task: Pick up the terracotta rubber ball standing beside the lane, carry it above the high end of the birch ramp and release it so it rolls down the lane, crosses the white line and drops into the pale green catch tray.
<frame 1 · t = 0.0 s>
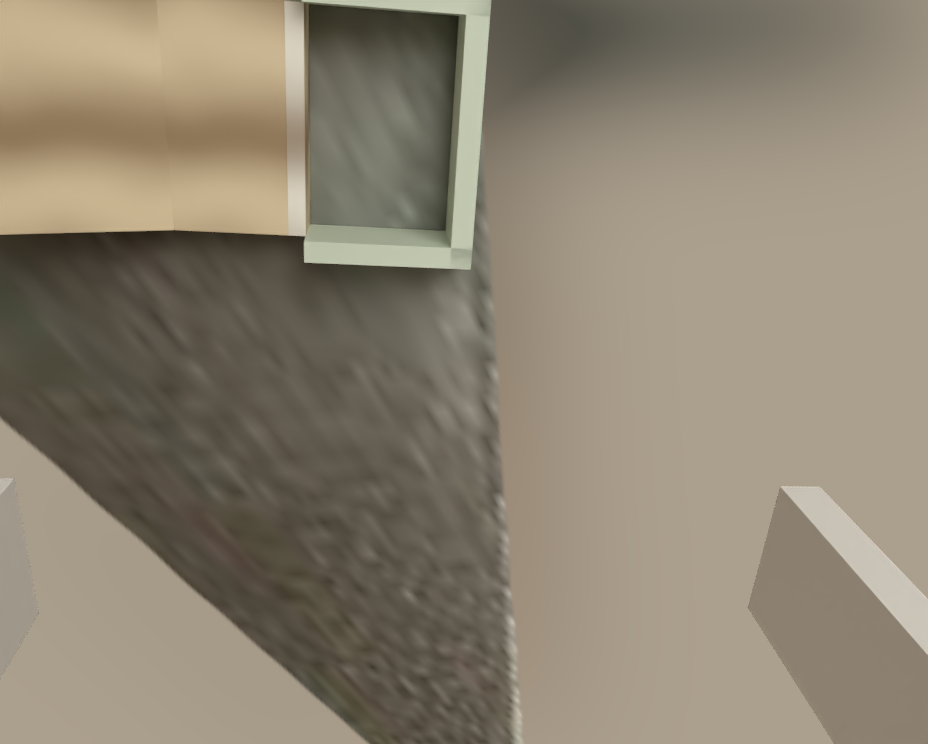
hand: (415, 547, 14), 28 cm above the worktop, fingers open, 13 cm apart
catch tray: (391, 125, 38), on the worktop
ramp lane: (244, 115, 37), on the worktop
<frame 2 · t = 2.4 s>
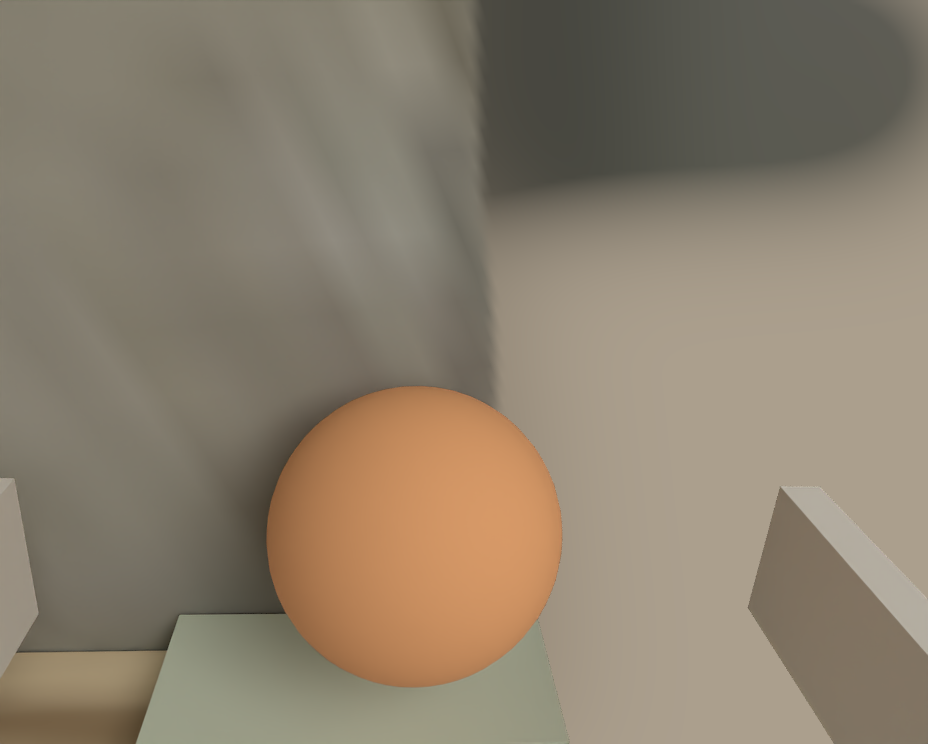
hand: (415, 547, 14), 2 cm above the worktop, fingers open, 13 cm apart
ball: (411, 456, 16), on the worktop
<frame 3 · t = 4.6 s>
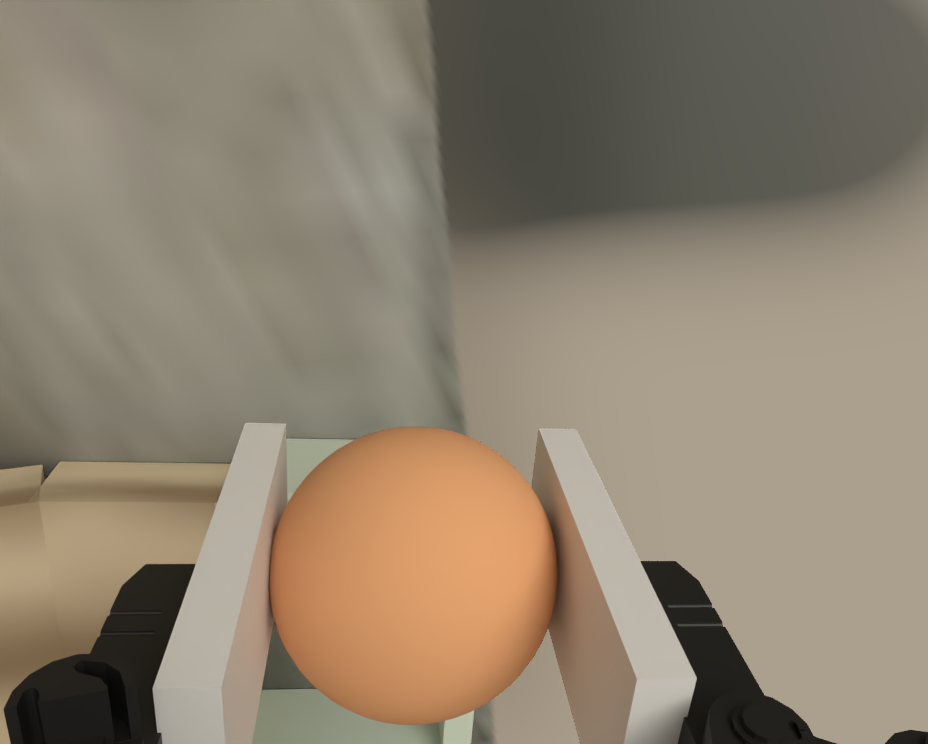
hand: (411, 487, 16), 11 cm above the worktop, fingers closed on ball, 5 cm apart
catch tray: (365, 583, 29), on the worktop
ball: (410, 494, 16), point 10 cm above the worktop, touching gripper
ramp lane: (173, 584, 28), on the worktop
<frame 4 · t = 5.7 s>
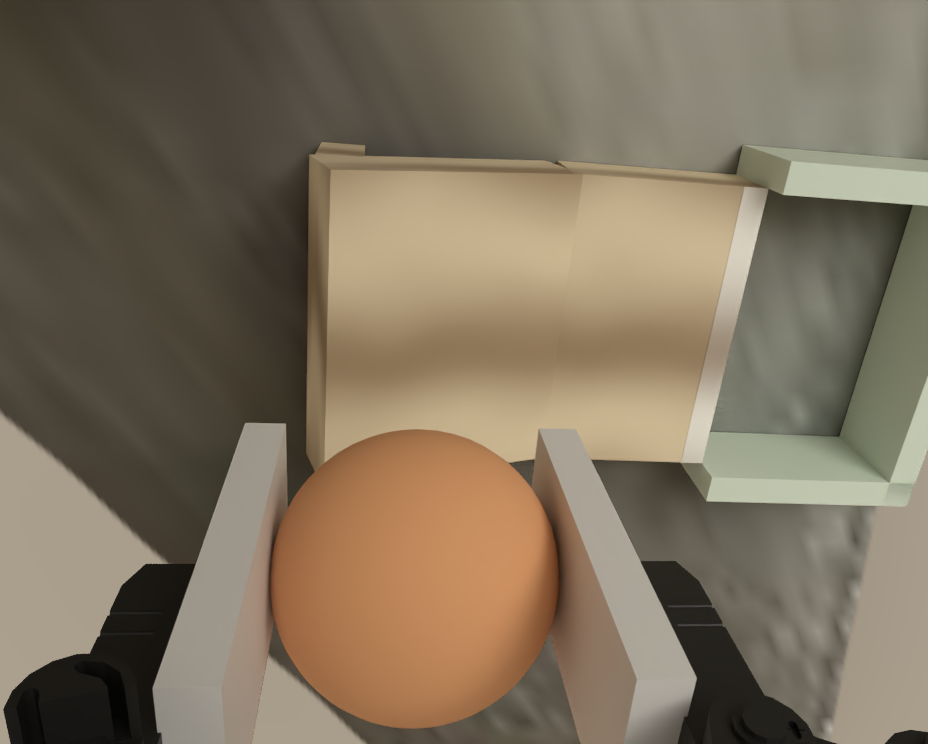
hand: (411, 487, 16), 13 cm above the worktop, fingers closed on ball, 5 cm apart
catch tray: (804, 317, 29), on the worktop
ball: (411, 496, 16), point 13 cm above the worktop, touching gripper
ramp lane: (627, 307, 29), on the worktop
when the fingers open (5 cm above the worktop, at t = 7.0 s): ball stays where it is and tips over, resting on ramp lane.
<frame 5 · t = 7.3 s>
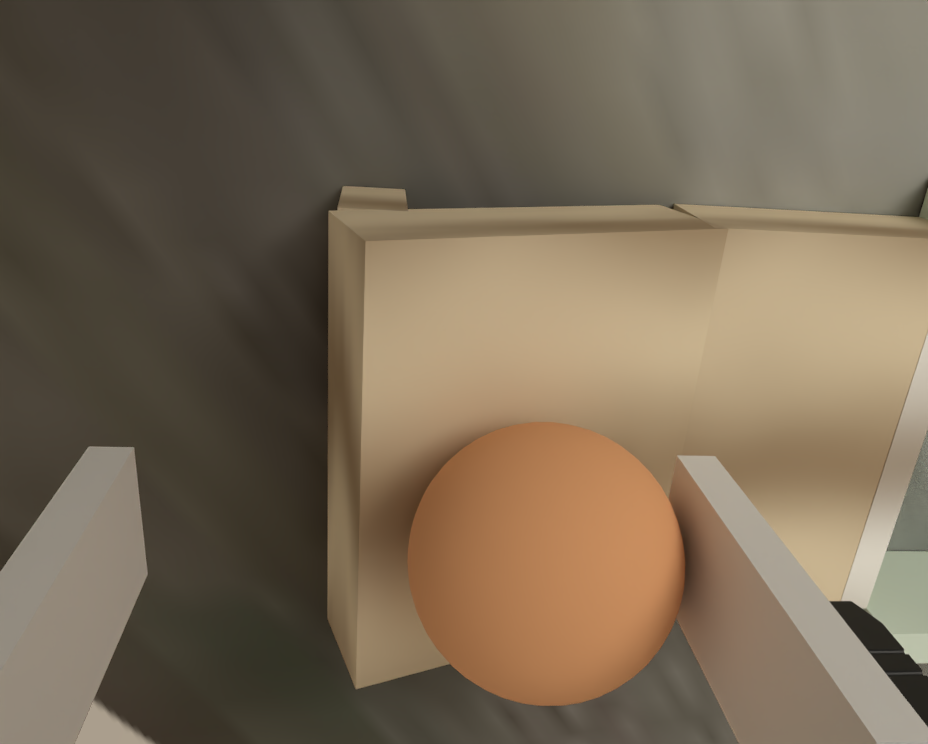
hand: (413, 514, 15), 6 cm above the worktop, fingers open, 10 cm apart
ball: (424, 524, 15), point 5 cm above the worktop, tilted 58°, touching gripper, ramp lane
ramp lane: (759, 396, 21), on the worktop
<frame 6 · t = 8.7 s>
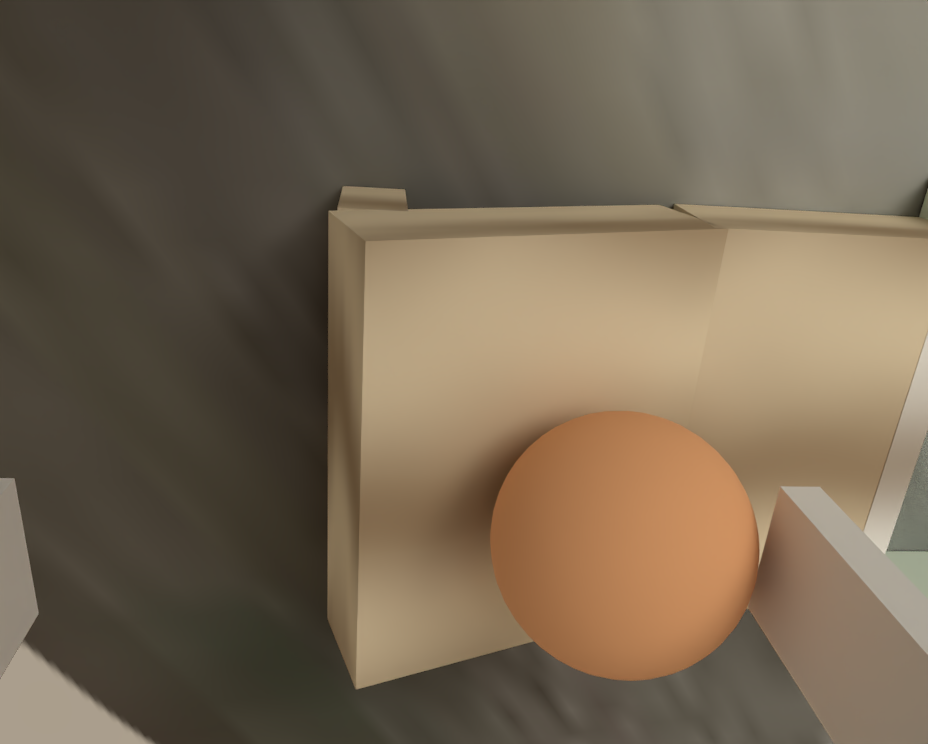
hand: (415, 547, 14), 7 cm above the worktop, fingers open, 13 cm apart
ball: (493, 555, 15), point 6 cm above the worktop, tilted 95°, touching gripper, ramp lane
ramp lane: (759, 397, 21), on the worktop
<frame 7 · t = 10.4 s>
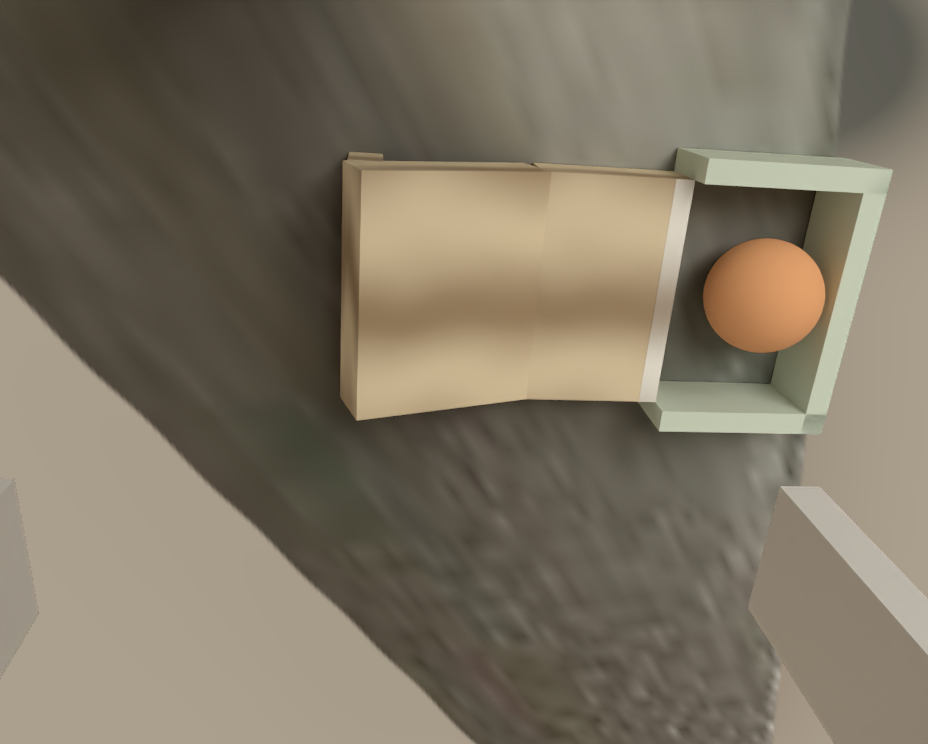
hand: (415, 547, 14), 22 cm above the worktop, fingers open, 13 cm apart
catch tray: (735, 284, 37), on the worktop
ball: (707, 286, 36), point 1 cm above the worktop, tilted 47°
ramp lane: (592, 278, 36), on the worktop
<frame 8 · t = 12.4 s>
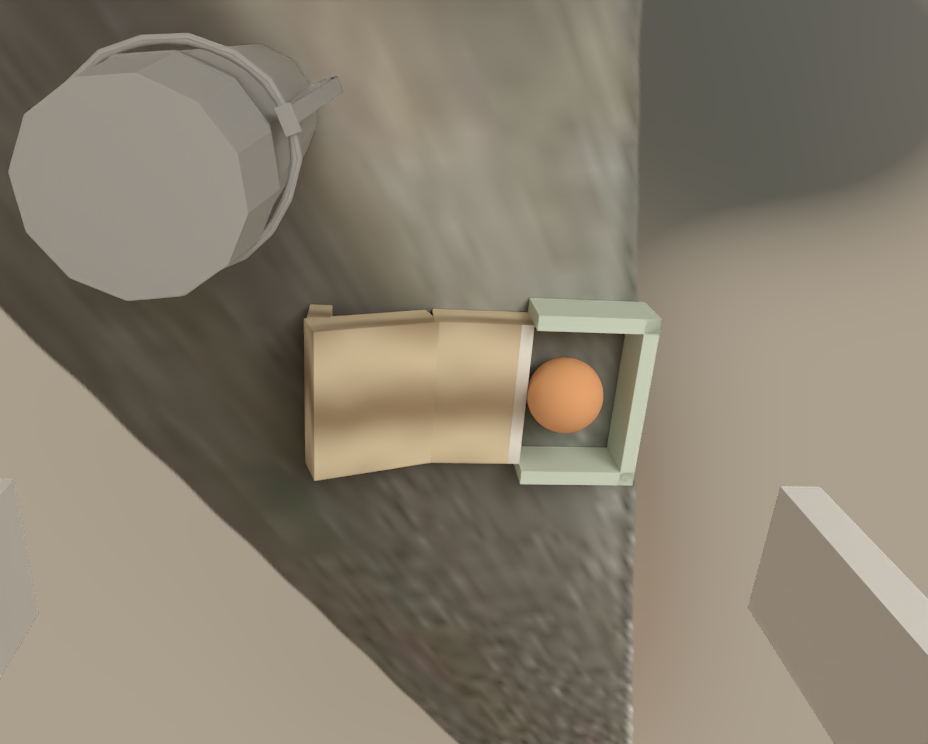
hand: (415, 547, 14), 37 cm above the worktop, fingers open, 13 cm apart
catch tray: (576, 383, 54), on the worktop
water bottle: (272, 103, 45), on the worktop
ball: (548, 381, 54), on the worktop, tilted 13°
ramp lane: (476, 380, 53), on the worktop
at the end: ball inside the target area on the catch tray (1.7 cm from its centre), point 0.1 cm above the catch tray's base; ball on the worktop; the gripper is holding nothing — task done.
